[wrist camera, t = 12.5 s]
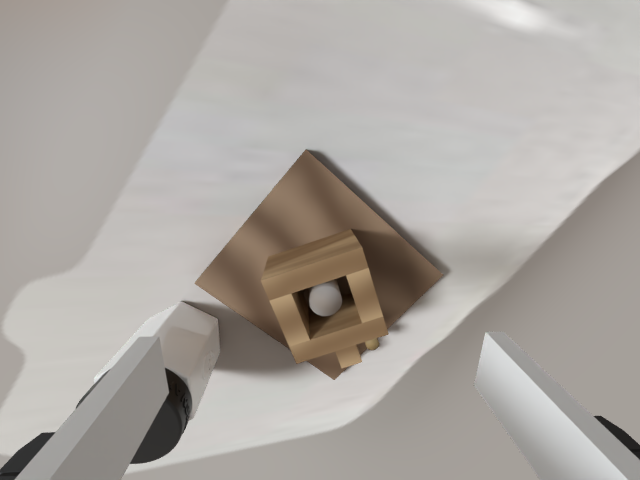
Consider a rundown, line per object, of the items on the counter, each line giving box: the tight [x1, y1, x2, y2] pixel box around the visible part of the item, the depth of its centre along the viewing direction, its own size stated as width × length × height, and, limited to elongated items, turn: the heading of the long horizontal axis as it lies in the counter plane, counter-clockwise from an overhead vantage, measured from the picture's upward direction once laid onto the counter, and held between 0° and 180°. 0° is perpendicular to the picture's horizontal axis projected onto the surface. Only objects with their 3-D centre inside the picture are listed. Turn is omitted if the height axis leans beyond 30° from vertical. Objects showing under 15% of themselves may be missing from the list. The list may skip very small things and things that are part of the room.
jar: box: [75, 302, 220, 464], centre depth 29 cm, size 9×8×12 cm
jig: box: [195, 150, 443, 380], centre depth 30 cm, size 18×20×6 cm
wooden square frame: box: [261, 229, 388, 368], centre depth 30 cm, size 14×9×6 cm, turn 18°
